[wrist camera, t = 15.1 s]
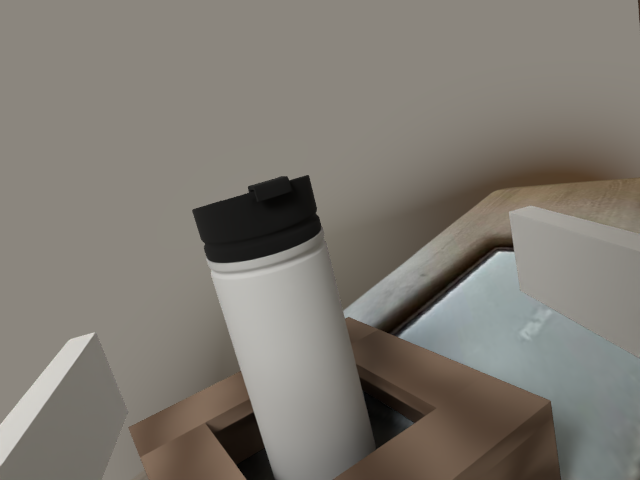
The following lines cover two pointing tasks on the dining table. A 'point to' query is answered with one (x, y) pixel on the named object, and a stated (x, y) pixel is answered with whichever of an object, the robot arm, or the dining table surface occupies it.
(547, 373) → the dining table surface
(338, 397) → the travel mug
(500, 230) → the dining table surface
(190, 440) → the walnut box
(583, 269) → the robot arm
